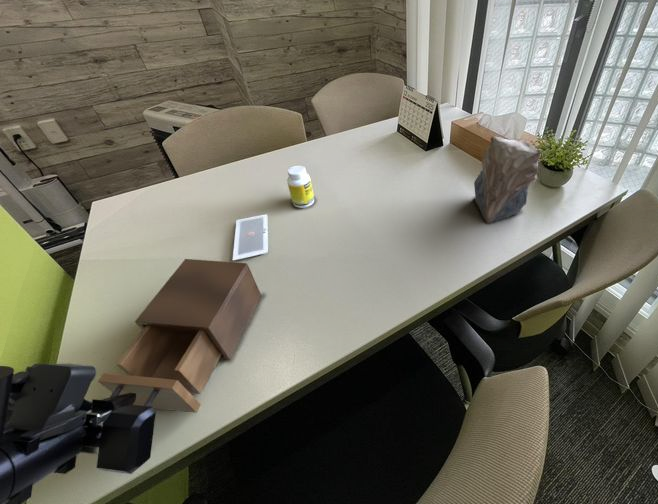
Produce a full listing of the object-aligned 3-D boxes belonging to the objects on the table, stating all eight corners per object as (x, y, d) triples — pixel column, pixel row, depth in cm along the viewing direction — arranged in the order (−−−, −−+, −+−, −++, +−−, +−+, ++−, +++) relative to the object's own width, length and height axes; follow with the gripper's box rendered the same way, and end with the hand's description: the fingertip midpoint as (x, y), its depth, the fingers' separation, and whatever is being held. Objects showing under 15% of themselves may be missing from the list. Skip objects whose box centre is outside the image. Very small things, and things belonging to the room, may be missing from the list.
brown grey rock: (470, 195, 97) (480, 134, 84) (510, 191, 98) (526, 131, 86) (485, 223, 87) (499, 159, 74) (529, 219, 88) (551, 154, 76)
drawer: (178, 448, 47) (148, 427, 42) (105, 440, 48) (67, 418, 43) (235, 337, 61) (218, 310, 55) (177, 332, 61) (155, 305, 56)
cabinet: (230, 359, 58) (208, 327, 52) (164, 353, 59) (134, 321, 53) (262, 296, 69) (247, 263, 62) (205, 292, 70) (185, 258, 63)
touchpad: (234, 263, 76) (231, 257, 75) (237, 223, 87) (235, 217, 86) (269, 255, 78) (266, 249, 77) (268, 217, 89) (266, 211, 88)
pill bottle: (312, 208, 92) (304, 176, 85) (290, 208, 92) (281, 176, 85) (316, 195, 97) (310, 163, 90) (296, 195, 97) (288, 163, 90)
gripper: (92, 397, 30) (203, 343, 46) (-85, 379, 32) (81, 332, 47) (74, 526, 29) (193, 426, 45) (-109, 502, 31) (69, 412, 46)
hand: (133, 396), depth 46 cm, fingers closed, pressing on drawer
